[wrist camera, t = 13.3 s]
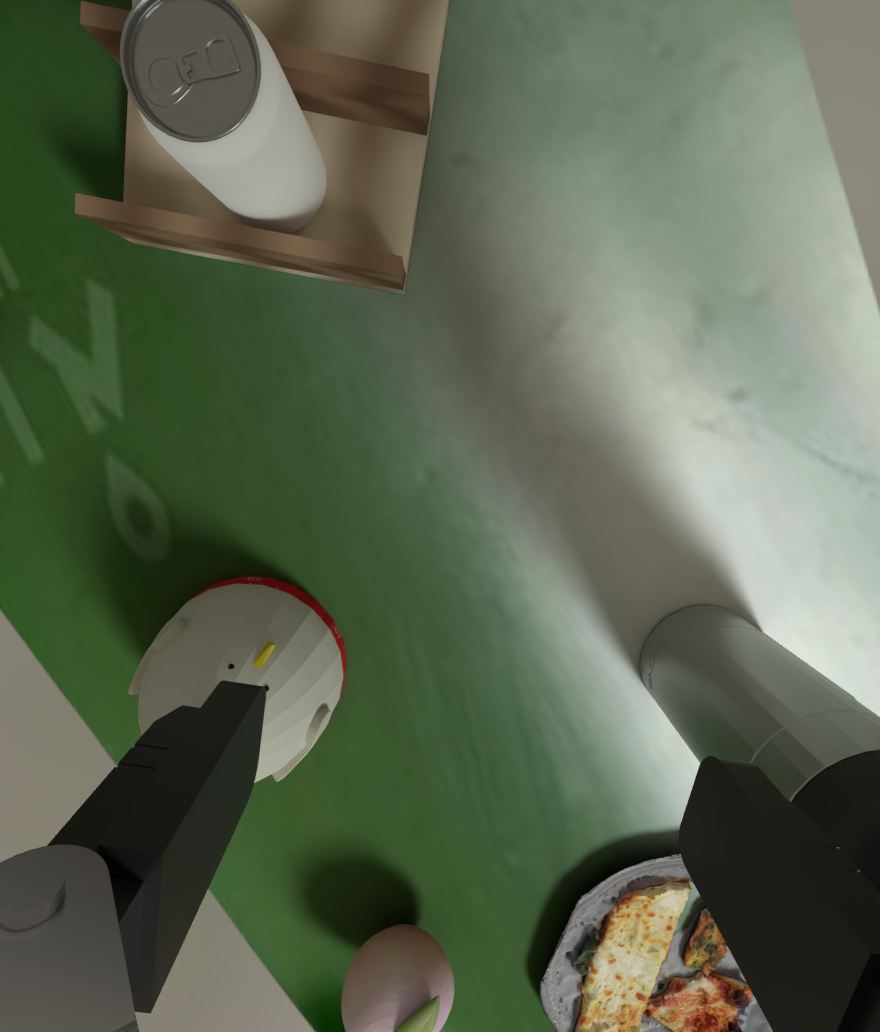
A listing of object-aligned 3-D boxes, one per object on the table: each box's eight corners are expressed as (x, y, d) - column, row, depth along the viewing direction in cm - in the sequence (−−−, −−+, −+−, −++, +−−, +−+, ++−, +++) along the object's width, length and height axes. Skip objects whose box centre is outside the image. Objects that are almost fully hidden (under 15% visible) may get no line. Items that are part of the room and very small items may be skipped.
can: (206, 142, 33) (79, 1, 21) (305, 104, 32) (232, -61, 21) (248, 251, 34) (150, 175, 22) (343, 216, 34) (295, 121, 22)
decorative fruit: (383, 874, 46) (370, 1001, 37) (465, 912, 47) (473, 1045, 38) (333, 950, 48) (307, 1091, 38) (413, 985, 49) (408, 1131, 39)
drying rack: (455, -38, 32) (460, -135, 26) (404, 294, 36) (399, 275, 30) (152, -105, 31) (87, -221, 25) (134, 243, 35) (74, 212, 29)
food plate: (732, 1086, 52) (754, 1134, 49) (505, 1029, 51) (511, 1075, 47) (845, 874, 48) (877, 911, 44) (600, 806, 46) (613, 838, 43)
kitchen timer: (381, 642, 42) (352, 775, 27) (285, 768, 44) (211, 952, 29) (227, 541, 40) (107, 624, 25) (135, 678, 42) (-23, 827, 28)
